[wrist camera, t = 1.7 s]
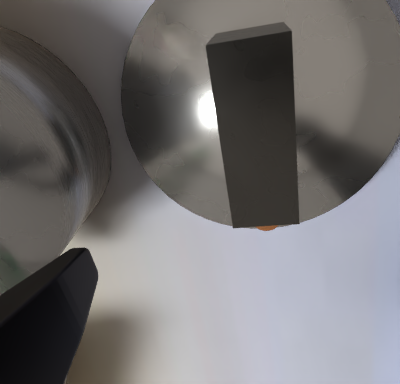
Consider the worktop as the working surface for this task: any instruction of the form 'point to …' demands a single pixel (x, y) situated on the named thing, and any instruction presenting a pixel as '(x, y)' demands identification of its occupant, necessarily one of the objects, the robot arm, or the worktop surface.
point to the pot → (44, 157)
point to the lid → (263, 104)
